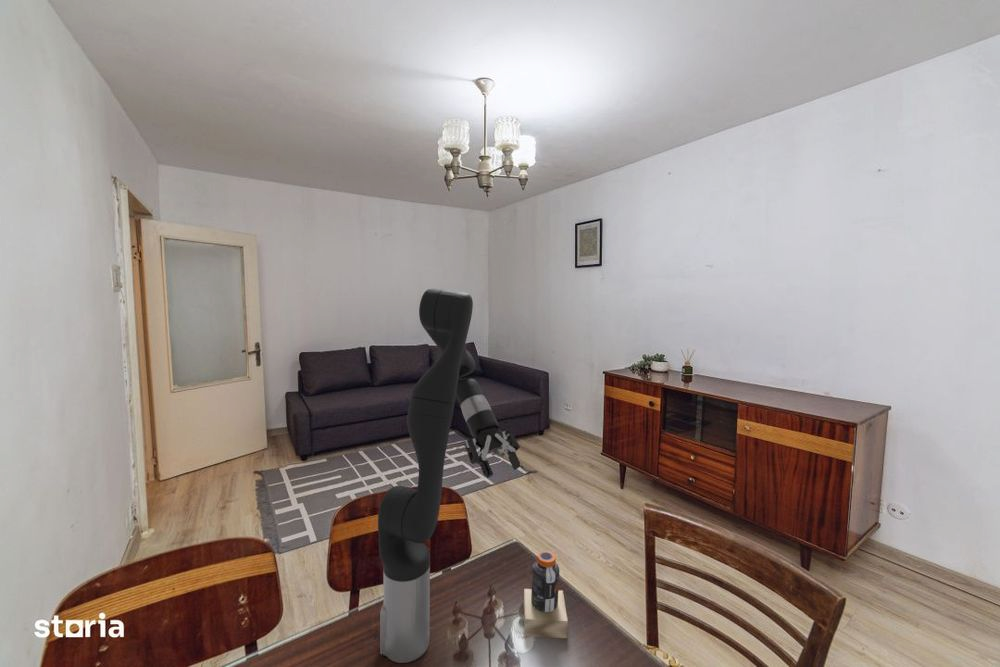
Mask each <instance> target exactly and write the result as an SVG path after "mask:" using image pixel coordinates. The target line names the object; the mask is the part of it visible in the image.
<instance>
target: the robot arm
mask: <svg viewBox="0 0 1000 667" xmlns="http://www.w3.org/2000/svg"><path fill="white" fill-rule="evenodd" d="M473 302H474V301H473V298H472V296H471V294H470V293H467V292H462V291H457V290H456V291H455V290H448V289H440V288H428V289H427V290H425V291H424V292H423V294H422V296H421V299H420V302H419V308H418V314H419V315H418V317H419V321H420V324H421V327H422V328H423V329H424V331H425V332H426V333H427V334H428V336H429V337H430V338H431V340H432V341H433V342H434V344H435V345H436V347H437V349H438V352H439V355H440V356H439V357H438V358H437V360H436V361H435V362H434V363H433V364H432V365H431V366H430V367H429V369H428V370H427V371H426V372H425V373H423V375H422V376H421V377H420V378H419V379H418V381H417V382H416V384H415V385H414V386H413V389H412V391H411V396H410V400H409V404H408V411H407V416H406V425H407V431H408V433H409V438H410V440H411V443H412V445H413V448H414V452H415V455H416V459H417V464H418V465H417V466H418V479H417V480H418V481H417V488H416V489H415V488H412V487H409V486H404V485H403V486H402V485H396V486H395V485H394V486H392V487H390V488H389V489H388V490H387V491H386V492H385V494H384V495H383V497H382V499H381V502H380V505H379V509H378V514H377V515H378V516H377V532H378V534H377V535H378V546H379V558H380V561H381V564H382V567H383V570H382V571H383V572H382V573H383V575H382V576H383V580H382V581H383V603H382V606H381V608H380V611H379V614H380V615H379V616H380V618H379V620H380V621H379V622H380V624H379V625H380V626H379V628H380V630H379V632H380V633H379V635H380V636H379V640H380V641H379V642H380V647H379V648H380V649H379V652H380V654H381V655H380V656H386V657H387V658H388V659H389V660H390V661H392V662H393V663H394V662H395V663H398V664H405V663H410V662H413V661H416V660H417V659H419V658H420V657H422V656H423V655H424V654H425V653H426V652H427V650H428V647H429V645H430V613H431V612H430V610H431V609H430V607H431V606H430V599H431V598H430V597H431V596H430V595H431V594H430V591H431V590H430V586H431V584H430V582H431V580H430V579H431V578H430V577H431V576H430V575H431V554H430V553H431V552H430V549H429V548H428V546H427V545H426V544H425V543H426V542H428V541H429V539H431V537H432V536H433V534H434V532H435V530H436V527H437V524H438V520H439V516H440V509H441V499H442V492H443V491H442V490H443V478H444V468H445V459H446V452H447V447H448V442H449V441H448V439H449V436H450V435H449V434H450V431H451V427H452V426H451V425H452V421H453V415H454V409H455V403H456V400H457V402H458V404H459V406H460V408H461V412H462V416H463V418H464V420H465V423H466V425H467V428H468V430H469V433H470V434H471V436H472V437H468V438H467V439H466V441H464V447H465V449H466V450H465V451H466V452H467V456H468V458H469V461H470V463H471V464H472V465H475V464H478V465H479V467H480V469H481V471H482V473H483V476H484V477H486V478H487V479H490V478H491V477H493V476H494V472H493V470H492V468H491V465H490V463H489V461H488V460H487V457H488V456H487V455H488V454H490V453H492V452H497V451H499V452H500V453H504V454H505V455H507V456H508V457H507V458H508V460H509V462H510V465H511V467H512V469H513V470H514V471H516V470H518V469H519V468H520V466H521V462H520V459H519V457H518V456H517V454H516V452H517V451H518V450H519V449H520V448H521V447H520V444H519V443H518V441H517V438H516V436H515V435H514V433H513V431H512V430H511V429H510V428H507V429H506V430H504V431H502V430H500V428H499V427H500V426H499V423H498V420H497V419H496V417H495V414H494V413H493V410H492V408H491V406H490V404H489V402H488V400H487V398H486V397H485V395H484V393H483V391H482V389H481V387H480V385H479V382H478V381H477V380H476V379H474V378H466V379H462V378H463V377H466V376H468V375H470V374H472V373H473V372H474V371H475V368H476V361H475V359H474V357H473V355H472V354H471V352H469V351H468V350H467V346H466V342H467V338H468V335H469V334H468V333H469V330H470V324H471V320H472V316H473V307H474V305H473V304H474V303H473ZM476 446H477V447H478V448H479V451H477V448H476ZM382 654H383V655H382Z"/></svg>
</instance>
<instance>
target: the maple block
mask: <svg viewBox="0 0 1000 667" xmlns="http://www.w3.org/2000/svg"><path fill="white" fill-rule="evenodd" d="M531 594H532V588H523V622H524V623H523V624H524V625H523V628H524V632H523V634H524V637H532V638H533V637H534V638H535V637H536V638H552V639H567V638H568V624H569V623H568V622H569V621H568V615H567V609H566V601H565V596H564V590H558V605H557V608H556V609H555V610H554V611H551V612H541V611H539V610H537V609H535V608H534V606H533V605H532V602H531Z"/></svg>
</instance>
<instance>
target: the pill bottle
mask: <svg viewBox="0 0 1000 667" xmlns="http://www.w3.org/2000/svg"><path fill="white" fill-rule="evenodd" d="M556 560H557V559H556V555H555V554H554V553H553V552H551V551H548V550H544V551H540V552H538V553H537V560H535V561H534V563H533V565H532V576H531V589H532V594H531V602H532V605H533V606H534V608H535V609H537V610H539V611H541V612H551V611H554V610H555V609H556V608H557V605H558V590H559V586H560V585H559V584H560V567H559V565H558V563H557V562H556Z"/></svg>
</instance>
